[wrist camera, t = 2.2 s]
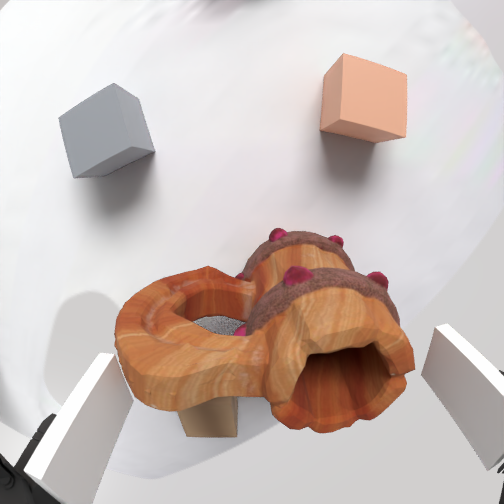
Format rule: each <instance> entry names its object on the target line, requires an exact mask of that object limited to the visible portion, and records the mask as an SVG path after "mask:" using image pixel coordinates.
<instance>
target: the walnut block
mask: <svg viewBox="0 0 504 504" xmlns="http://www.w3.org/2000/svg"><path fill="white" fill-rule="evenodd" d="M177 413H178V415H179V418H180V421H181V423H182V426H183V428H184V431H185V433H186V436H187V437H237V414H238V402H237V396H228V397H216V398H213V399H211V400H208V401H206V402H203V403H201V404H198V405H196V406H193V407H190V408H187V409H184V410H181V411H177Z"/></svg>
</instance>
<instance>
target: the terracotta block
mask: <svg viewBox="0 0 504 504" xmlns="http://www.w3.org/2000/svg"><path fill="white" fill-rule="evenodd" d="M406 125H407V75H406V74H404V73H401V72H399V71H396V70H394V69H391V68H388V67H386V66H383V65H380V64H377V63H374V62H371V61H368V60H365V59H362V58H358V57H355V56H351V55H348V54H344V53H343V54H342V55H341V56H340V58H339V59H338V60H337V61H336V62H335V63H334V64H333V66H332V67H331V68H330V69H329V70H328V71H327V73H326V74H325V75H324V85H323V98H322V110H321V122H320V131H325V132H330V133H335V134H340V135H344V136H349V137H353V138H357V139H361V140H365V141H369V142H373V143H379V142H384V141H389V140H394V139H400V138H405V137H406Z"/></svg>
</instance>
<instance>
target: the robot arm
mask: <svg viewBox="0 0 504 504" xmlns="http://www.w3.org/2000/svg"><path fill="white" fill-rule="evenodd" d="M421 375H422V377H423V378H424V379H425V381H426V382H427V383H428V385H429V386H430V387H431V389H432V390H433V391H434V392H435V394H436V395H437V397H438V398H439V400H440V401H441V402H442V404H443V405H444V407H445V408H446V409H447V411H448V412H449V413H450V415H451V416H452V418H453V419H454V421H455V422H456V424H457V425H458V427H459V428H460V429H461V431H462V432H463V434H464V435H465V437H466V438H467V440H468V441H469V443H470V444H471V446H472V447H473V449H474V451H475V452H476V454H477V455H478V457H479V458H480V460H481V461H482V463H483V464H484V466H485V468H486V470H487V471H488V470H490V469H491V468H492V467H494V466H495V465H497V464H498V463H499V462H500V461H501V460H502V459H503V458H504V372H502V371H500V370H499V371H498V370H497V369H496V368H495V367H494V366H493V365H492V364H491V363H490V362H489V361H488V360H486V358H484V357H483V356H482V355H481V354H480V353H479V352H478V351H477V350H476V349H475V348H474V347H473V346H472V345H470V344H469V343H468V342H467V341H466V340H465V339H464V338H463V337H462V336H461V335H459V334H458V333H457V332H456V331H455V330H454V329H453V328H451V327H450V326H449V325H448V324H444V325H440V326H436V327H435V329H434V333H433V337H432V341H431V344H430V348H429V351H428V354H427V358H426V361H425V364H424V367H423V370H422V374H421ZM132 403H133V398H132V396H131V394H130V391H129V389H128V387H127V384H126V382H125V380H124V377H123V375H122V372H121V369H120V367H119V364H118V362H117V359H116V356H115V354H107V353H99V355H98V356H97V358H96V359H95V360H94V362H93V363H92V364H91V366H90V367H89V369H88V370H87V371H86V373H85V375H84V376H83V377H82V379H81V380H80V381H79V383H78V384H77V386H76V387H75V389H74V390H73V392H72V393H71V395H70V396H69V398H68V399H67V401H66V402H65V404H64V405H63V407H62V408H61V410H60V411H59V413H58V414H57V415H56V414H51V415H50V416H49V417H47V418H46V419H45V420H44V421H43V422H42V423H41V425H40V426H39V428H38V429H37V432H35V434H34V436H33V437H32V438H33V439H31V440H30V442H29V444H28V445H27V447H26V449H25V450H24V452H23V453H22V455H21V457H20V458H19V460H18V462H17V463H16V465H15V466H14V467H13V466H12V465H11V464H10V463H9V462H8V461H7V460H6V459H5V458H4V457H3V456H2V455H1V454H0V504H92V503H93V500H94V498H95V495H96V492H97V490H98V487H99V484H100V481H101V479H102V476H103V474H104V471H105V469H106V466H107V463H108V461H109V458H110V456H111V453H112V451H113V448H114V446H115V444H116V441H117V439H118V436H119V434H120V431H121V429H122V427H123V424H124V422H125V420H126V417H127V415H128V413H129V410H130V408H131V406H132ZM503 469H504V463H503V464H502V465H501V466H500V468H499V469H498V472H497V473H500V472H501V471H502V470H503ZM502 473H504V471H503V472H502ZM499 504H504V483H503V488H502V493H501V497H500V501H499Z"/></svg>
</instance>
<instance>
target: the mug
mask: <svg viewBox="0 0 504 504" xmlns="http://www.w3.org/2000/svg"><path fill="white" fill-rule="evenodd" d="M343 243H344V242H343V239H342V238H341V237H339V236H336V235H334V236H330V237H329V238H326V237H323V236H321V235H318V234H316V233H312V232H306V231H292V232H286V231H285V230H284V229H281V228H275V229H274V230H273V231H272V232H271V234H270V236H269V240H267V241H266V242H264V243H263V244H261V245H260V246H259V247H258V249H257V250H256V251H255V252H254V253H253V255H252V256H251V257H250V258H249V259H248V261H247V263H246V266H245V268H244V270H243V272H242V273H239V274H238V275H237V276H236V277H235V278H234V277H231V276H229V275H227V274H225V273H223V272H221V271H219V270H218V269H215V268H213V267H210V266H206V267H203V268H200V269H197V270H193V271H188V272H184V273H180V274H177V275H173V276H169V277H165V278H162V279H160V280H158V281H155V282H153V283H152V284H150V285H148V286H147V287H145V288H143V289H142V290H140V291H139V292H137V293H136V294H134V295H133V296H132V297H131V298H130V299H129V300H128V301H127V302H125V304H124V305H123V308H122V309H121V310H120V312H119V315H118V316H117V319H116V326H115V333H114V335H115V338H116V340H115V347H116V349H117V351H118V356H119V362H120V364H121V365H122V370H123V373H124V376H125V378H126V380H127V382H128V384H129V386H130V388H131V390H132V392H133V394H134V396H135V397H136V398H137V399H139V400H140V401H141V402H143V403H144V404H145V405H147V406H150V407H152V408H155V409H158V410H164V411H181V410H184V409H187V408H190V407H193V406H196V405H198V404H201V403H203V402H206V401H208V400H211V399H213V398H216V397H228V396H242V397H265V399H266V400H267V401H268V402H270V405H271V411H272V415H273V416H274V417H275V418H276V419H277V420H278V421H280V422H281V423H282V424H284V425H285V426H287V427H288V428H289V429H296V430H300V429H303V428H305V427H309V428H311V429H312V430H313V431H315V432H318V433H329V432H334V431H336V430H339V429H341V428H344V427H350V426H351V425H352V424H353V423H354V422H355V421H357V420H358V419H363V420H371V419H374V418H375V417H377V416H378V415H380V414H381V413H382V412H383V411H384V410H385V409H386V408H387V407H389V405H391V404H392V403H393V401H395V400H396V398H398V397H399V396H400V395H401V394H402V393H403V392H404V390H405V388H406V385H407V382H406V379H405V377H404V374H406V373H408V372H410V371H413V370H415V363H414V355H413V348H412V347H411V345H410V342H409V340H408V338H407V336H406V335H405V333H404V331H403V330H402V329H401V328H400V319H399V315H398V312H397V309H396V307H395V305H394V303H393V302H392V300H391V299H390V297H389V295H388V293H387V289H388V280H387V277H386V276H384V275H383V274H382V273H381V272H372V273H370V274H369V275H367V276H365V275H362V274H360V273H358V272H355V270H354V267H353V265H352V262H351V260H350V258H349V257H348V256H347V254H346V253H345V252H344V250H343V249H342V248H343ZM206 316H207V317H212V316H225V317H229V318H232V319H237V320H240V321H243V322H246V323H245V324H243V325H241V326H240V327H239V328H237V329H236V330H235V333H234V335H233V336H231V335H220V334H216V333H213V332H210V331H208V330H207V329H205V328H203V327H201V326H199V325H197V324H195V323H193V321H195V320H197V319H200V318H203V317H206Z"/></svg>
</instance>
